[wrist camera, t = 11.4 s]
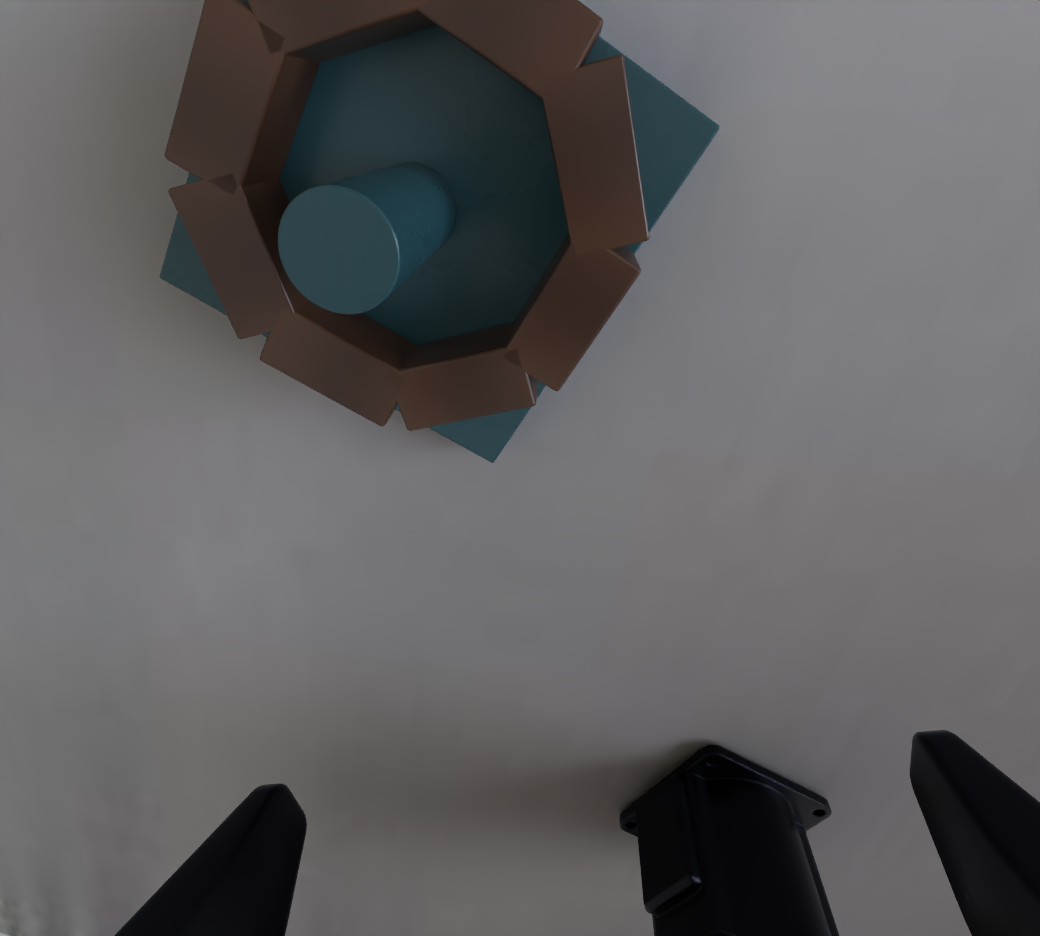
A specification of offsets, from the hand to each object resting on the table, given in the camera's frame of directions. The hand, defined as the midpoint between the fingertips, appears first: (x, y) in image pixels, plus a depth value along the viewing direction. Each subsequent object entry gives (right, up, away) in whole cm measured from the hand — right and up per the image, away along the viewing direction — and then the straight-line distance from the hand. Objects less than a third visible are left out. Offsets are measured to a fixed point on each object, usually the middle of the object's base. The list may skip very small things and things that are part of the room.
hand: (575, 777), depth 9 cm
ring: (-3, +11, +6) cm, 12 cm away
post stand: (-3, +11, +7) cm, 14 cm away
